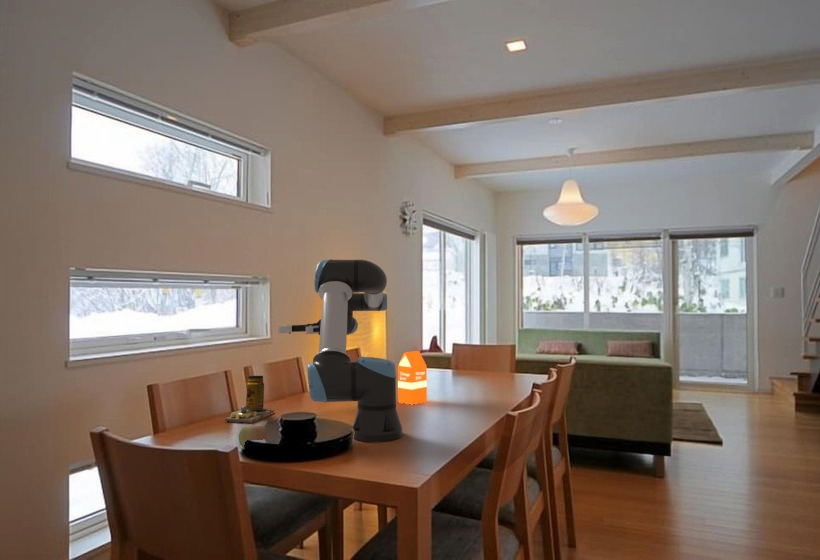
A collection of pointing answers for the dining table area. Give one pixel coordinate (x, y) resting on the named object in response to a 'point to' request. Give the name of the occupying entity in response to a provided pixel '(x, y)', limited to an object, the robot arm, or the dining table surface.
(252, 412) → the gear
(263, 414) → the gear board
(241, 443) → the fruit
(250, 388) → the condiment
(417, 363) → the orange juice
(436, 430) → the dining table surface
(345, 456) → the dining table surface
